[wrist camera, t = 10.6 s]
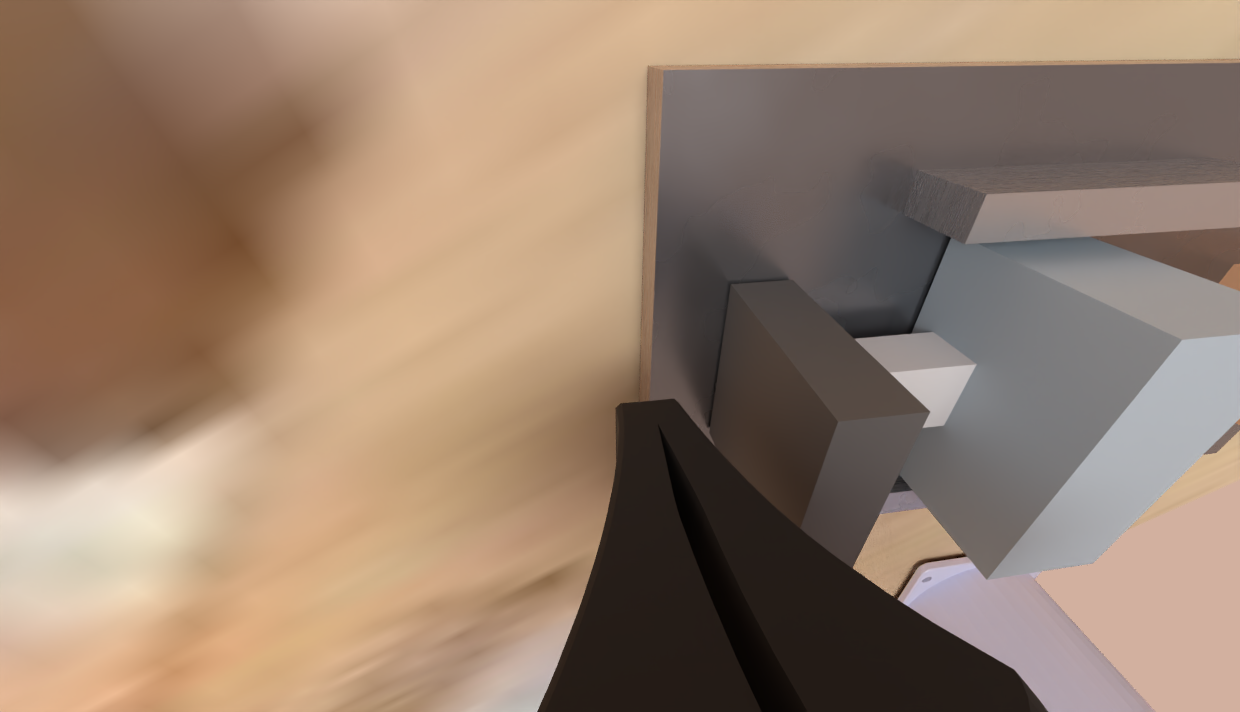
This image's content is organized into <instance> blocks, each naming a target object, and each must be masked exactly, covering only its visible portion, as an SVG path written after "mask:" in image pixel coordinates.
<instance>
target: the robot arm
mask: <svg viewBox="0 0 1240 712" xmlns="http://www.w3.org/2000/svg"><path fill="white" fill-rule="evenodd" d="M1041 572H1042V571H1041ZM1041 572H1034V573H1028V574H1022V575H1015V576H1009V577H1003V578H996V579H990V580H986V579H985V577H984V576H983V575H982V574H981V573H980V571H979V570H978V569H977V568H976V567H975V565H974V564H973V563H972V562H971V560H970V559H969V558H968V557H961V558H955V559H948V560H941V561H935V562H928V563H925V564H922V565H921V566H919V567H918V568H917V570H916V571H915V573H914V574H913V576H912V578H911V579H910V581H909V582H908V584H907V585H906V587H905V588H904V590H903V592H902V593H901V595H900V596H899V598H898V599H896V598H894V597H893V596H891V595H890V594H888V593H887V592H885V591H884V590H882V589H881V588H879V587H878V586H877V585H875V584H874V583H872V582H871V581H870V580H868V579H867V578H865V577H864V576H863V575H861V574H860V573H858V572H857V571H855V570H854V569H853V568H851V567H850V566H848V565H847V564H846V563H844V562H843V561H841V560H840V559H839V558H837V557H836V556H834V555H833V554H832V553H831V552H829V551H828V550H827V549H825V548H824V547H823V546H822V545H820V544H819V543H818V542H817V541H815V540H814V539H813V538H811V537H810V536H809V535H808V534H806V533H805V532H804V531H803V530H802V529H800V528H799V527H798V526H797V525H796V524H794V523H793V522H792V521H791V520H790V519H789V518H787V517H786V516H785V515H784V514H783V513H782V512H781V511H779V510H778V509H777V508H776V507H775V506H774V505H773V504H772V503H771V502H769V501H768V500H767V499H766V498H765V497H764V496H763V495H762V494H761V493H760V492H759V491H758V490H757V489H756V488H755V487H754V486H753V485H752V484H751V483H749V482H748V481H747V480H746V478H745V477H744V476H743V475H742V474H741V473H740V472H739V471H738V470H737V469H736V468H735V467H734V466H733V465H732V464H731V463H730V462H729V461H728V460H727V459H726V458H725V457H724V455H723V454H722V453H721V452H720V451H719V450H718V449H717V448H716V447H715V446H714V445H713V443H712V442H711V441H710V440H709V439H708V438H707V437H706V435H705V434H704V433H703V432H702V431H701V430H700V428H699V427H698V426H697V425H696V424H695V422H694V421H693V420H692V419H691V418H690V416H689V415H688V414H687V413H686V411H685V410H684V409H683V407H682V406H681V405H680V404H679V402H678V401H676V400H675V399H663V400H653V401H643V402H633V403H623V404H620V405H619V406H618V407H616V470H615V477H614V483H613V489H612V493H611V498H610V503H609V508H608V513H607V517H606V522H605V526H604V530H603V534H602V537H601V541H600V545H599V548H598V552H597V555H596V559H595V562H594V565H593V568H592V571H591V575H590V578H589V581H588V584H587V587H586V590H585V593H584V596H583V599H582V602H581V605H580V608H579V610H578V613H577V616H576V619H575V621H574V624H573V626H572V629H571V632H570V634H569V637H568V639H567V642H566V644H565V647H564V650H563V652H562V655H561V657H560V660H559V662H558V665H557V668H556V670H555V672H554V675H553V677H552V680H551V682H550V684H549V687H548V689H547V691H546V693H545V696H544V698H543V700H542V702H541V705H540V707H539V709H538V711H537V712H1155V711H1154V709H1152V707H1151V706H1150V705H1149V704H1148V703H1147V702H1146V701H1145V700H1144V699H1143V697H1142V696H1141V695H1140V694H1139V693H1138V692H1137V691H1136V690H1135V689H1134V688H1133V687H1132V685H1131V684H1130V683H1129V682H1128V681H1127V680H1126V679H1125V678H1124V677H1123V676H1122V674H1121V673H1120V672H1119V671H1118V670H1117V669H1116V668H1115V667H1114V666H1113V665H1112V664H1111V662H1110V661H1109V660H1108V659H1107V658H1106V657H1105V656H1104V655H1103V654H1102V653H1101V652H1100V651H1099V649H1098V648H1097V647H1096V646H1095V645H1094V644H1093V643H1092V642H1091V641H1090V640H1089V638H1088V637H1087V636H1086V635H1085V634H1084V633H1083V632H1082V631H1081V630H1080V629H1079V628H1078V626H1077V625H1076V624H1075V623H1074V622H1073V621H1072V620H1071V619H1070V618H1069V617H1068V616H1067V615H1066V614H1065V612H1064V611H1063V610H1062V609H1061V608H1060V607H1059V606H1058V605H1057V603H1056V602H1055V601H1054V600H1053V599H1052V598H1051V597H1050V596H1049V595H1048V594H1047V593H1046V591H1045V590H1044V589H1043V588H1042V587H1041V586H1040V585H1039V584H1038V583H1037V582H1036V581H1035V578H1036V577H1037V576H1038V575H1039V574H1040V573H1041Z"/></svg>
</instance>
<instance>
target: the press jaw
mask: <svg viewBox="0 0 1240 712" xmlns="http://www.w3.org/2000/svg"><path fill="white" fill-rule="evenodd" d="M1239 419H1240V291H1238V290H1235V289H1232V288H1229V287H1227V286H1224V285H1221V284H1218V283H1216V282H1213V281H1210V280H1207V279H1205V278H1202V277H1199V276H1196V275H1194V274H1191V273H1188V272H1185V271H1183V270H1180V269H1177V268H1174V267H1172V266H1169V265H1166V264H1163V263H1160V262H1158V261H1155V260H1152V259H1149V258H1147V257H1144V256H1141V255H1138V254H1136V253H1133V252H1130V251H1127V250H1125V249H1122V248H1119V247H1116V246H1114V245H1111V244H1108V243H1105V242H1103V241H1100V240H1097V239H1094V238H1091V237H1074V238H1058V239H1042V240H1026V241H1010V242H994V243H978V244H963V243H961V242H959V241H957V240H955V239H953V238H951V240H950V242H949V244H948V247H947V249H946V252H945V254H944V256H943V259H942V261H941V264H940V266H939V268H938V271H937V273H936V276H935V278H934V280H933V283H932V285H931V288H930V290H929V292H928V295H927V297H926V300H925V302H924V304H923V307H922V309H921V312H920V314H919V316H918V319H917V321H916V324H915V326H914V328H913V331H912V333H911V334H903V335H892V336H880V337H869V338H857V339H854V338H853V337H852V336H851V335H850V334H849V333H848V332H846V331H845V330H844V329H843V328H842V327H841V326H840V325H839V324H838V323H837V322H836V321H835V320H834V319H833V318H832V317H831V316H830V315H829V314H828V313H827V312H826V311H825V310H823V309H822V308H821V307H820V306H819V305H818V304H817V303H816V302H815V301H814V300H813V299H812V298H811V297H810V296H809V295H808V294H807V293H806V292H805V291H804V290H803V289H801V288H800V287H799V286H798V285H797V284H796V283H795V282H794V281H793V280H783V281H768V282H754V283H739V284H731V287H730V293H729V300H728V307H727V314H726V321H725V328H724V335H723V341H722V348H721V355H720V362H719V369H718V376H717V383H716V390H715V396H714V403H713V410H712V417H711V424H710V431H709V433H710V435H711V437H712V440H713V442H714V444H715V447H716V448H717V449H718V450H719V451H720V452H721V453H722V454H723V455H724V457H725V458H726V459H727V460H728V461H729V462H730V463H731V464H732V465H733V466H734V467H735V468H736V469H737V470H738V471H739V472H740V473H741V474H742V475H743V476H744V477H745V478H746V480H747V481H748V482H749V483H751V484H752V485H753V486H754V487H755V488H756V489H757V490H758V491H759V492H760V493H761V494H762V495H763V496H764V497H765V498H766V499H767V500H768V501H769V502H771V503H772V504H773V505H774V506H775V507H776V508H777V509H778V510H779V511H781V512H782V513H783V514H784V515H785V516H786V517H787V518H789V519H790V520H791V521H792V522H793V523H794V524H796V525H797V526H798V527H799V528H800V529H802V530H803V531H804V532H805V533H806V534H808V535H809V536H810V537H811V538H813V539H814V540H815V541H817V542H818V543H819V544H820V545H822V546H823V547H824V548H825V549H827V550H828V551H829V552H831V553H832V554H833V555H834V556H836V557H837V558H839V559H840V560H841V561H843V562H844V563H846V564H847V565H848V566H850V567H851V568H853V566H854V564H855V562H856V560H857V558H858V556H859V554H860V552H861V550H862V548H863V546H864V544H865V542H866V540H867V538H868V536H869V534H870V532H871V530H872V528H873V526H874V524H875V522H876V520H877V518H878V516H879V514H880V512H881V510H882V508H883V506H884V504H885V502H886V500H887V498H888V496H889V494H890V492H891V490H892V488H893V486H894V484H895V482H896V480H897V478H898V476H899V474H900V476H901V477H902V478H903V479H904V481H905V482H906V483H907V484H908V485H909V487H910V488H911V489H912V490H913V491H914V493H915V494H916V495H917V496H918V497H919V499H920V500H921V501H922V502H923V504H924V505H925V506H926V507H927V508H928V510H929V511H930V512H931V513H932V514H933V516H934V517H935V518H936V519H937V520H938V522H939V523H940V524H941V525H942V527H943V528H944V529H945V530H946V531H947V533H948V534H949V535H950V536H951V537H952V539H953V540H954V541H955V542H956V544H957V545H958V546H959V547H960V548H961V550H962V551H963V552H964V553H965V554H966V556H967V557H968V558H969V559H970V560H971V562H972V563H973V564H974V565H975V567H976V568H977V569H978V570H979V571H980V573H981V574H982V575H983V576H984V577H985V579H986V580H990V579H996V578H1003V577H1009V576H1015V575H1022V574H1028V573H1034V572H1041V571H1047V570H1053V569H1060V568H1066V567H1072V566H1079V565H1085V564H1092V563H1094V562H1095V561H1096V560H1097V559H1098V558H1099V557H1100V556H1101V555H1102V554H1103V553H1104V552H1105V551H1106V550H1107V549H1108V548H1109V547H1110V546H1111V545H1112V544H1113V543H1114V542H1115V541H1116V540H1117V539H1118V538H1119V537H1120V536H1121V535H1122V534H1123V533H1124V532H1125V531H1126V530H1127V529H1128V528H1129V527H1130V526H1131V525H1132V524H1133V523H1134V522H1135V521H1136V520H1137V519H1138V518H1139V517H1140V516H1141V515H1142V514H1143V513H1144V512H1145V511H1146V510H1148V509H1149V508H1150V507H1151V506H1152V505H1153V504H1154V503H1155V502H1156V501H1157V500H1158V499H1159V498H1160V497H1161V496H1162V495H1163V494H1164V493H1165V492H1166V491H1167V490H1168V489H1169V488H1170V487H1171V486H1172V485H1173V484H1174V483H1175V482H1176V481H1177V480H1178V479H1179V478H1180V477H1181V476H1182V475H1183V474H1184V473H1185V472H1186V471H1187V470H1188V469H1189V468H1190V467H1191V466H1192V465H1193V464H1194V463H1195V462H1196V461H1197V460H1198V459H1199V458H1200V457H1201V456H1202V455H1203V454H1204V453H1205V452H1206V451H1207V450H1208V449H1209V448H1210V447H1211V446H1212V445H1213V444H1214V443H1215V442H1216V441H1218V440H1219V439H1220V438H1221V437H1222V436H1223V435H1224V434H1225V433H1226V432H1227V431H1228V430H1229V429H1230V428H1231V427H1232V426H1233V425H1234V424H1235V423H1236V422H1237V421H1238V420H1239Z"/></svg>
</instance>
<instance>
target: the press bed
mask: <svg viewBox="0 0 1240 712" xmlns="http://www.w3.org/2000/svg"><path fill="white" fill-rule="evenodd" d="M1074 237H1091V238H1094V239H1097V240H1100V241H1103V242H1105V243H1108V244H1111V245H1114V246H1116V247H1119V248H1122V249H1125V250H1127V251H1130V252H1133V253H1136V254H1138V255H1141V256H1144V257H1147V258H1149V259H1152V260H1155V261H1158V262H1160V263H1163V264H1166V265H1169V266H1172V267H1174V268H1177V269H1180V270H1183V271H1185V272H1188V273H1191V274H1194V275H1196V276H1199V277H1202V278H1205V279H1207V280H1210V281H1213V282H1216V283H1218V284H1219V282H1220V281H1221V280H1222V279H1223V277H1224V276H1225V275H1226V273H1227V272H1228V271H1229V270H1230V268H1231V267H1232V266H1233V265H1234V264H1240V59H1205V60H1119V61H1033V62H947V63H861V64H775V65H689V66H648V88H647V126H646V164H645V202H644V240H643V278H642V316H641V354H640V391H639V402H643V401H653V400H663V399H675V400H676V401H678V402H679V404H680V405H681V406H682V407H683V409H684V410H685V411H686V413H687V414H688V415H689V416H690V418H691V419H692V420H693V421H694V422H695V424H696V425H697V426H698V427H699V428H700V430H701V431H702V432H703V433H704V434H705V435H706V437H707V438H708V439H709V440H710V441H711V442H712V443H713V445H714V446H715V444H714V442H713V440H712V437H711V435H710V433H709V431H710V424H711V417H712V410H713V403H714V396H715V390H716V383H717V376H718V369H719V362H720V355H721V348H722V341H723V335H724V328H725V321H726V314H727V307H728V300H729V293H730V287H731V284H739V283H754V282H768V281H783V280H793V281H794V282H795V283H796V284H797V285H798V286H799V287H800V288H801V289H803V290H804V291H805V292H806V293H807V294H808V295H809V296H810V297H811V298H812V299H813V300H814V301H815V302H816V303H817V304H818V305H819V306H820V307H821V308H822V309H823V310H825V311H826V312H827V313H828V314H829V315H830V316H831V317H832V318H833V319H834V320H835V321H836V322H837V323H838V324H839V325H840V326H841V327H842V328H843V329H844V330H845V331H846V332H848V333H849V334H850V335H851V336H852V337H853V338H854V339H857V338H869V337H880V336H892V335H903V334H911V333H912V331H913V328H914V326H915V324H916V321H917V319H918V316H919V314H920V312H921V309H922V307H923V304H924V302H925V300H926V297H927V295H928V292H929V290H930V288H931V285H932V283H933V280H934V278H935V276H936V273H937V271H938V268H939V266H940V264H941V261H942V259H943V256H944V254H945V252H946V249H947V247H948V244H949V242H950V240H951V238H953V239H955V240H957V241H959V242H961V243H963V244H978V243H994V242H1010V241H1026V240H1042V239H1058V238H1074ZM1239 430H1240V425H1238V424H1237V423H1235V424H1234V425H1233V426H1232V427H1231V428H1230V429H1229V430H1228V431H1227V432H1226V433H1225V434H1224V435H1223V436H1222V437H1221V438H1220V439H1219V440H1218V441H1216V442H1215V443H1214V444H1213V445H1212V446H1211V447H1210V448H1209V449H1208V450H1207V451H1206V452H1205V453H1204V454H1212V453H1217V452H1218V451H1219V450H1220V449H1221V448H1222V447H1223V446H1224V445H1225V444H1226V443H1227V442H1228V441H1229V440H1230V439H1231V438H1232V437H1233V436H1234V435H1235V434H1236V433H1237V432H1238V431H1239ZM1204 454H1203V455H1204ZM921 508H927V507H926V506H925V505H924V504H923V502H922V501H921V500H920V499H919V497H918V496H917V495H916V494H915V493H914V491H913V490H912V489H911V488H910V487H909V485H908V484H907V483H906V482H905V481H904V479H903V478H902V477H901V476H900V474H899V476H898V478H897V480H896V482H895V484H894V486H893V488H892V490H891V492H890V494H889V496H888V498H887V500H886V502H885V504H884V506H883V508H882V510H881V512H880V514H884V513H891V512H899V511H906V510H913V509H921Z"/></svg>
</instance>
